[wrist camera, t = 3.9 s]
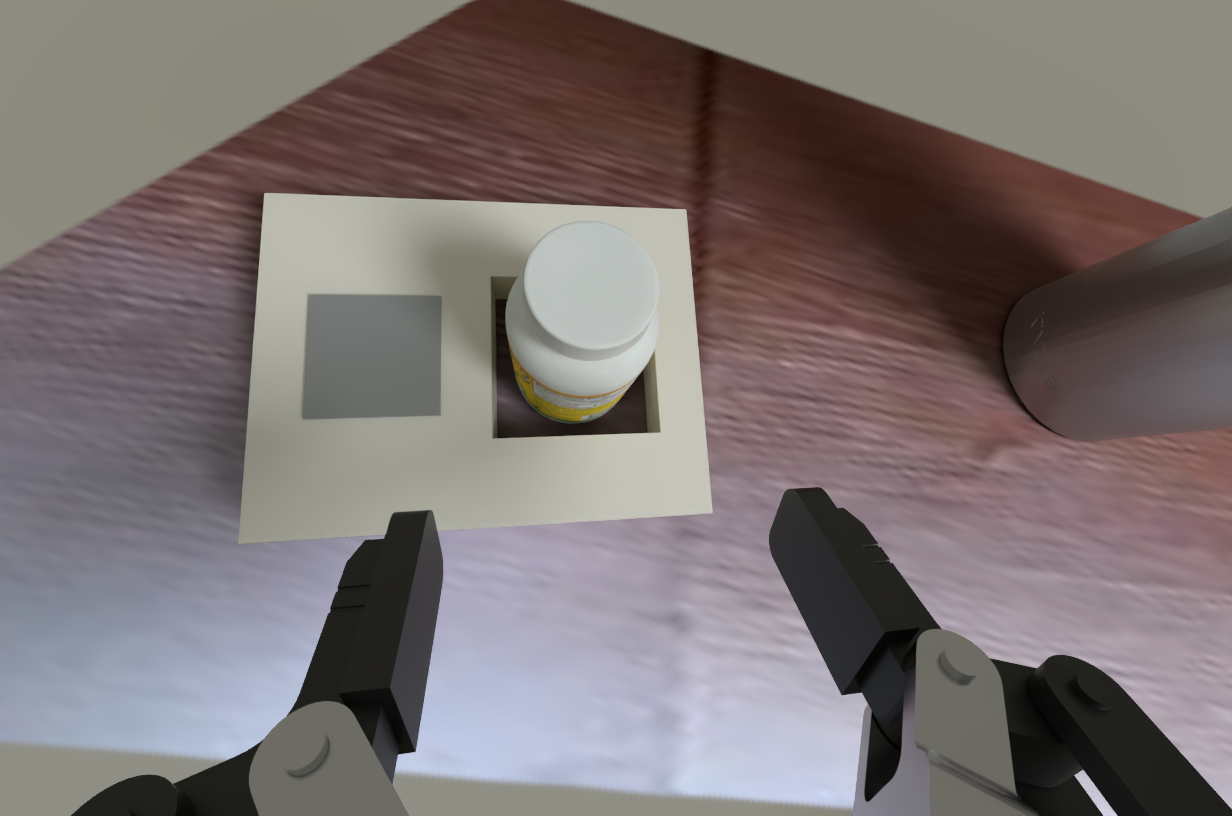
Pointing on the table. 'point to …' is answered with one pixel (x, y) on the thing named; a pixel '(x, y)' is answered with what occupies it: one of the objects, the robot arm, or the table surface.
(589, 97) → the table surface
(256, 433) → the socket dock
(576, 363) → the supplement bottle
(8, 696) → the table surface
